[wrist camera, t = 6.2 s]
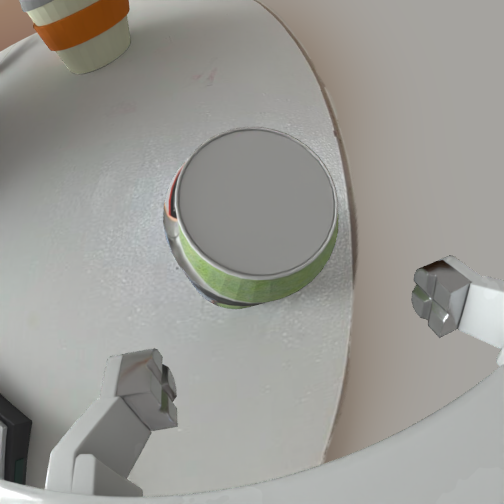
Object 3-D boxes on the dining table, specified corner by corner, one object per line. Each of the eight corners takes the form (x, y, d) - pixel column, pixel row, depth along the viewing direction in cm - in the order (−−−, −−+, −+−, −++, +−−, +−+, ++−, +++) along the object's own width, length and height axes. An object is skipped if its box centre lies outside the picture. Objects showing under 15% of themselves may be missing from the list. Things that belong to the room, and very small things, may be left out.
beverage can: (223, 209, 21) (200, 74, 10) (315, 261, 20) (384, 157, 9) (172, 282, 20) (83, 198, 8) (267, 342, 18) (293, 335, 7)
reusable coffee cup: (145, 59, 27) (116, -49, 13) (51, 97, 26) (-1, 9, 12) (142, 20, 31) (122, -62, 17) (65, 50, 30) (32, -23, 16)
